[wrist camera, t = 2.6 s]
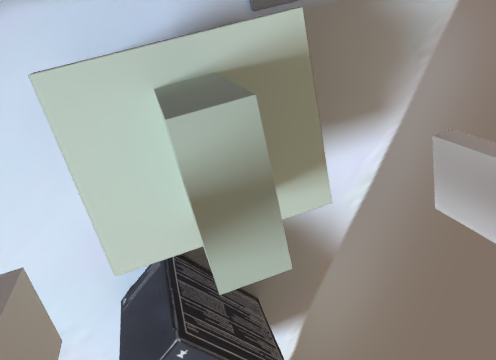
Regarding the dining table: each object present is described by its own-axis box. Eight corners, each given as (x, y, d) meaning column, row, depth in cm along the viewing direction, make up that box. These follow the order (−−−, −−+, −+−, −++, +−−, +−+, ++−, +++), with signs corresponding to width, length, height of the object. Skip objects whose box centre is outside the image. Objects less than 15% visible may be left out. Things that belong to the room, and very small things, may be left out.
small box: (115, 304, 33) (109, 416, 23) (163, 243, 32) (177, 333, 23) (216, 351, 37) (245, 461, 28) (260, 298, 36) (306, 393, 27)
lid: (34, 72, 18) (-31, 102, 11) (293, 8, 21) (385, -3, 13) (115, 264, 23) (108, 378, 15) (323, 195, 25) (405, 266, 17)
